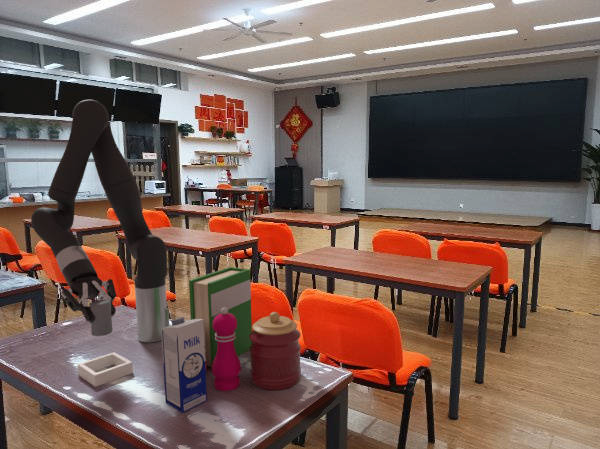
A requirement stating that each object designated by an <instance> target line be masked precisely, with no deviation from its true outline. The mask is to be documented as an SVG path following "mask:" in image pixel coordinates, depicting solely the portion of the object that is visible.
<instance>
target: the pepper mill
mask: <svg viewBox="0 0 600 449" xmlns="http://www.w3.org/2000/svg"><path fill="white" fill-rule="evenodd" d="M236 328H237V320H236V318H235V316H234V315H232V314H230V313H228V309H227V308H222V309H221V314H219V315H217V316H216V317H215V318H214V320H213V330H214V331H215V332H216V333H215V340H216V341H217V354H216V356H215V359H214V361H213V364H212V371H211V373H212V375H213V376H214V380H213V381H214V383H213V384H214V389H216V390H218V391H220V392H221V391H222V392H229V391H234V390H236V389H237V388H239V386H240V383H241V381H240V380H241V379H240V373H241V371H242V364H241V361H240V360H241V359H240V358H239V356H237V354H236V351H235V348H234V339H235V338H236V336H235V334H236V333H235V332H234V331H235V329H236Z"/></svg>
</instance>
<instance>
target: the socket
mask: <svg viewBox="0 0 600 449" xmlns="http://www.w3.org/2000/svg"><path fill="white" fill-rule="evenodd" d="M113 365H114V366H113ZM110 366H113V367H110ZM107 367H109V368H107ZM133 367H134V366H133V361H131V360H129V359H127V358H126V357H124V356H122V355H120V354H118V353H116V352H114V351H113V352H111V353H108V354H105V355H101V356H98V357H95V358H93V359H90V360H85V361H84V362H80V363H77V373H78V376H79V377H80V378H82V379H83V380H85V381H86V382H88V383H89V384H90V385H92V386H93V387H95V388H96V387H99V386H101V385H104V384H106V383H110V382H112V381H115V380H119V379H120V378H123V377H126V376H129V375H131V374H133V372H134V370H133ZM105 368H107V369H105ZM102 369H104V370H102ZM99 370H101V371H99ZM96 371H99V372H96Z"/></svg>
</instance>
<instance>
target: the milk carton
mask: <svg viewBox="0 0 600 449" xmlns="http://www.w3.org/2000/svg"><path fill="white" fill-rule="evenodd" d="M203 320H204V319H193V320H191V319H188V320H186V319H184V317H179V318H175V319H171V321H170V322H171V325H169V326H168V327H165V328H161V332H162V340H161V347H162V348H161V350H162V362H163V363H162V364H163V378H164V380H163V381H164V382H163V383H164V397H165V399H164V400H165V401H164V402H165V404H166V405H168V406H170V407H171V408H174V409H175V410H176V411H179V412H180V413H182V414H184V413H185V412H188V411H189V410H191V409H193V408H195V407H197V406H199V405H201V404H203V403H205V402H208V398H207V396H208V395H207V394H208V393H207V376H206V375H207V373H206V372H207V371H206V369H205V346H204V324H203Z"/></svg>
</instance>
